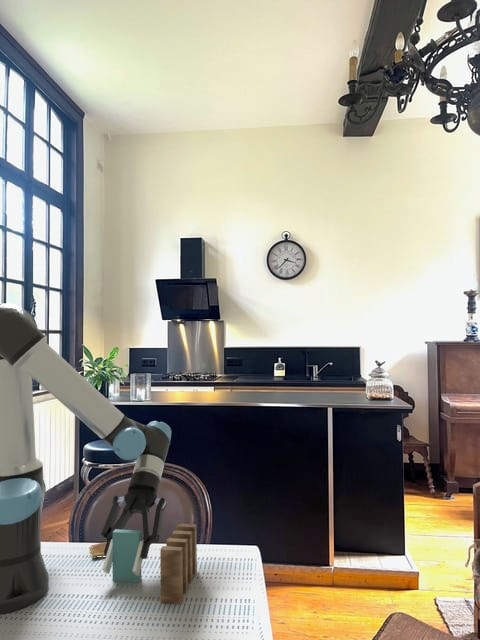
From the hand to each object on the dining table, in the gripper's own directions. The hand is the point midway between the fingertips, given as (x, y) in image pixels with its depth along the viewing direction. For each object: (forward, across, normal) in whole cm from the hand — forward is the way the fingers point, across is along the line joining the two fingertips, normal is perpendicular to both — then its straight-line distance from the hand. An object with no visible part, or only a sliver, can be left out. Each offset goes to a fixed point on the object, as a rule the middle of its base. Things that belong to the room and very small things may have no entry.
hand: (120, 572), depth 100 cm
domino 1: (0, 0, -5) cm, 5 cm away
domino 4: (+2, -13, -3) cm, 13 cm away
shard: (-9, +12, -15) cm, 22 cm away
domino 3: (-1, -13, -6) cm, 14 cm away
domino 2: (-4, -13, -8) cm, 16 cm away
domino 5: (+5, -13, 0) cm, 14 cm away
